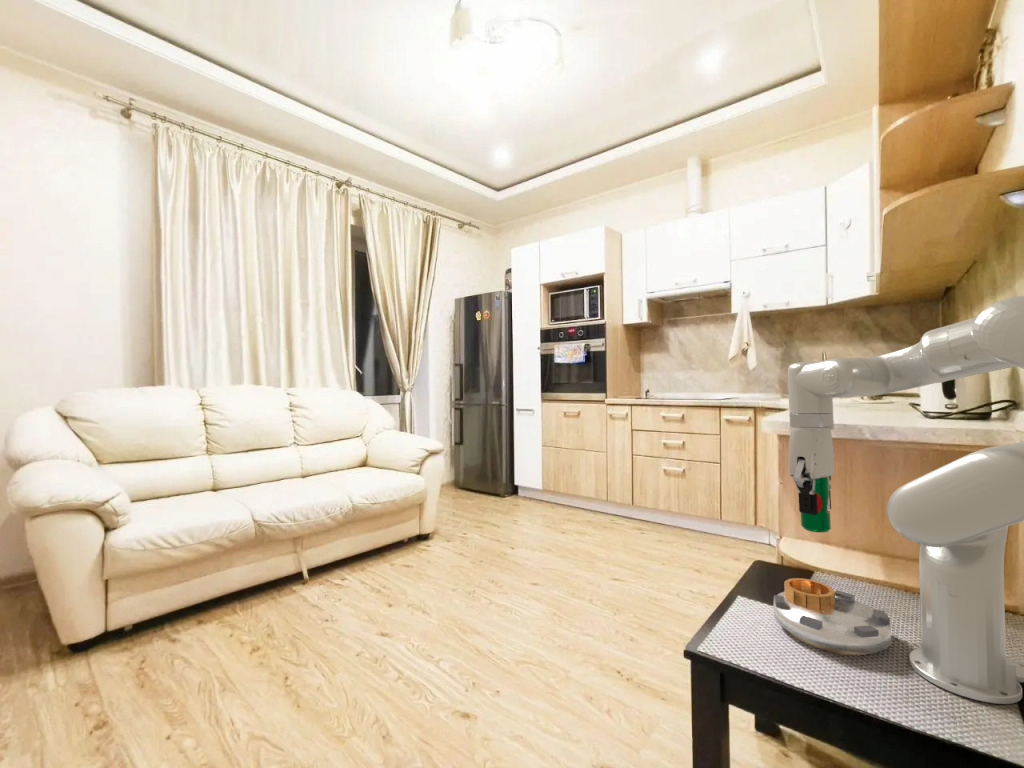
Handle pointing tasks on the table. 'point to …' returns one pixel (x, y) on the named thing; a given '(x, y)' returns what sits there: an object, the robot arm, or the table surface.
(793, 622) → the oval platform with pads
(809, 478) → the robot arm
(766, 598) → the table surface
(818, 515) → the soda can
